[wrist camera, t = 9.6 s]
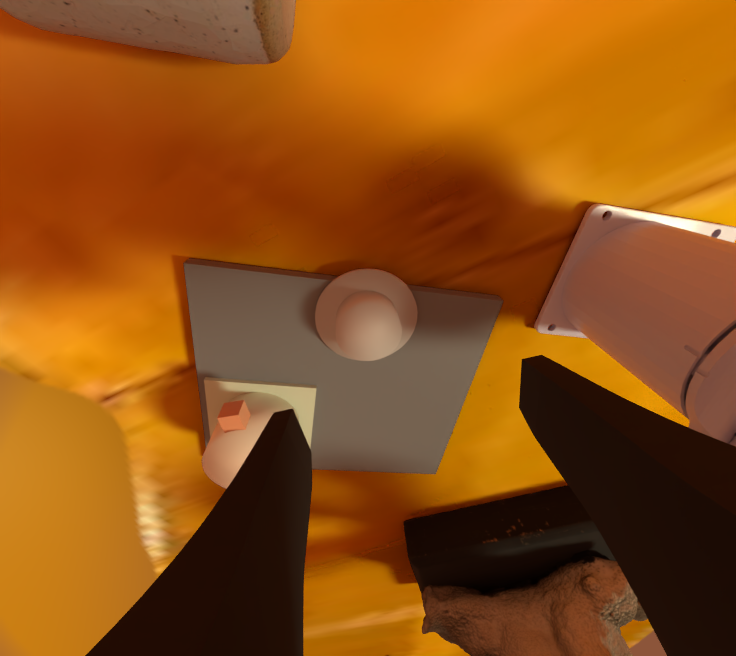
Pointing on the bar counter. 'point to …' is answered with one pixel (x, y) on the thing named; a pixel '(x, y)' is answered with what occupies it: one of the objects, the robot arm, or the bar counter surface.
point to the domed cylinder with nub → (238, 433)
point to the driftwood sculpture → (521, 578)
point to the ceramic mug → (172, 25)
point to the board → (341, 357)
